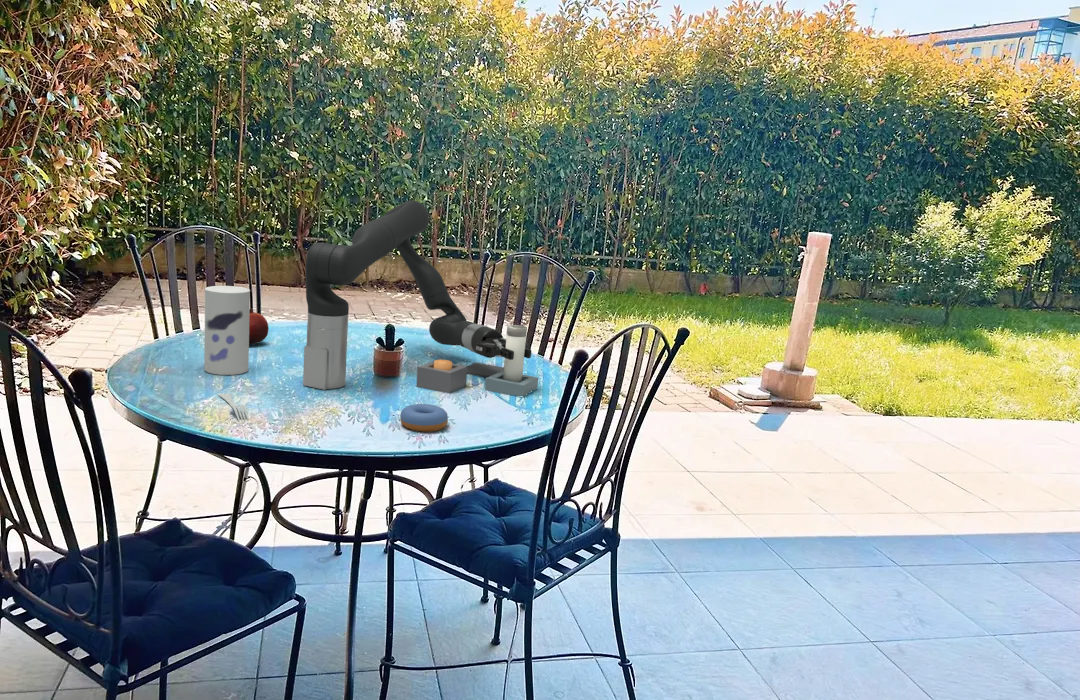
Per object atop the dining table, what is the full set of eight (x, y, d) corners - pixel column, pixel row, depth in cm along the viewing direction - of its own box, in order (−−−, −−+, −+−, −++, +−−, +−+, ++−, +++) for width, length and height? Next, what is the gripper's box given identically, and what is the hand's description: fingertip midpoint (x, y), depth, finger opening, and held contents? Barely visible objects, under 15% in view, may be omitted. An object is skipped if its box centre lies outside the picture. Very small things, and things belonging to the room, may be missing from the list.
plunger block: (449, 393, 201) (450, 373, 200) (416, 386, 204) (417, 366, 203) (466, 385, 209) (467, 366, 208) (434, 379, 212) (435, 360, 211)
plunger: (445, 387, 204) (446, 364, 202) (429, 384, 205) (430, 361, 204) (453, 384, 208) (455, 361, 206) (438, 381, 209) (439, 358, 208)
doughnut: (389, 425, 172) (392, 404, 171) (414, 416, 181) (418, 396, 181) (430, 440, 169) (434, 418, 168) (454, 430, 178) (458, 410, 177)
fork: (229, 404, 185) (229, 392, 185) (251, 422, 168) (251, 409, 167) (216, 405, 184) (216, 393, 183) (237, 423, 166) (237, 410, 166)
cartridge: (516, 393, 207) (522, 329, 203) (498, 389, 208) (504, 326, 205) (524, 389, 211) (530, 327, 208) (506, 385, 213) (511, 324, 209)
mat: (495, 379, 218) (495, 376, 218) (457, 371, 222) (457, 369, 222) (512, 371, 228) (512, 369, 228) (475, 364, 232) (475, 362, 232)
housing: (522, 397, 203) (523, 385, 203) (484, 390, 207) (485, 378, 206) (537, 388, 212) (538, 377, 212) (501, 381, 216) (502, 370, 215)
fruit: (224, 347, 225) (224, 310, 223) (229, 339, 234) (230, 304, 232) (265, 349, 227) (266, 312, 225) (269, 341, 236) (270, 306, 234)
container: (205, 375, 196) (206, 291, 192) (203, 365, 205) (203, 284, 201) (250, 375, 200) (251, 292, 196) (246, 364, 209) (247, 285, 205)
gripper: (460, 327, 213) (499, 341, 200) (505, 324, 222) (545, 338, 209) (458, 355, 215) (496, 372, 202) (503, 352, 224) (542, 367, 211)
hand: (521, 354), depth 206 cm, fingers closed on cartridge, 4 cm apart
